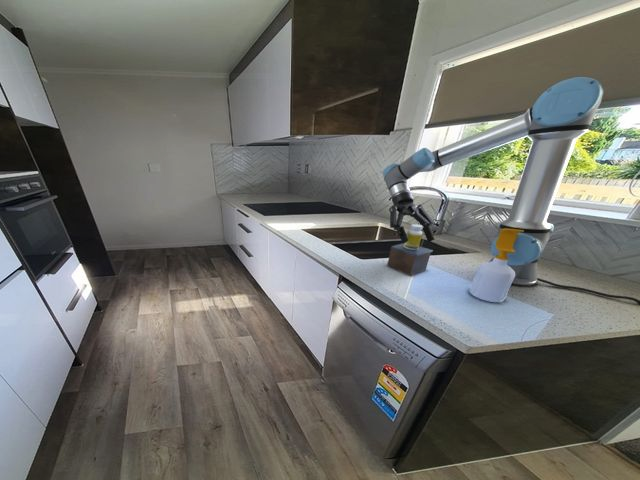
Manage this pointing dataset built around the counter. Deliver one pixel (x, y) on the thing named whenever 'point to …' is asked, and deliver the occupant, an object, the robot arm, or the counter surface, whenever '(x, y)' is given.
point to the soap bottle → (496, 270)
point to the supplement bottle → (414, 237)
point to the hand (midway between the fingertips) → (418, 241)
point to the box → (407, 262)
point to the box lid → (413, 252)
